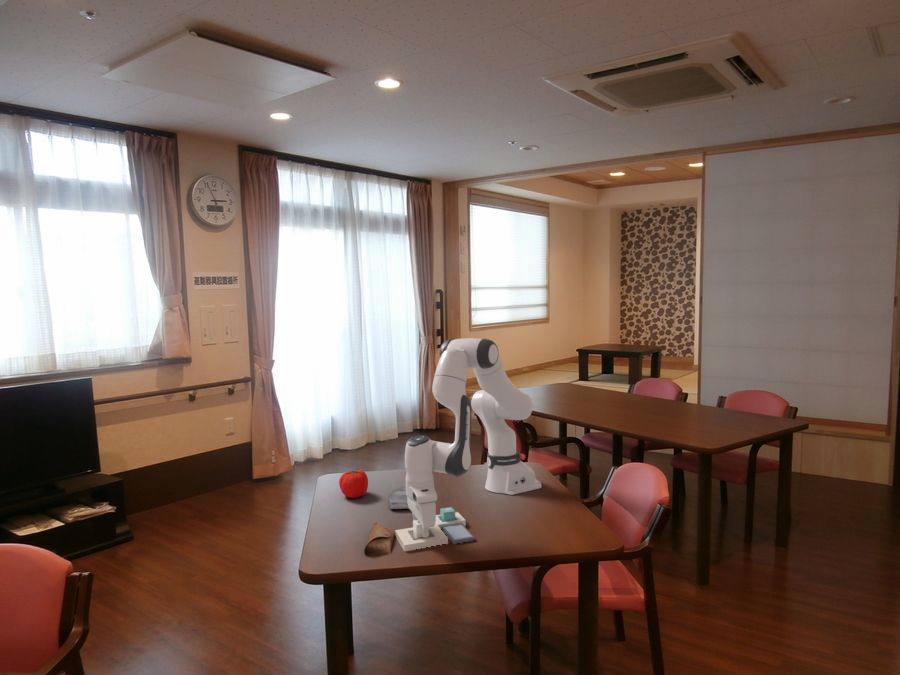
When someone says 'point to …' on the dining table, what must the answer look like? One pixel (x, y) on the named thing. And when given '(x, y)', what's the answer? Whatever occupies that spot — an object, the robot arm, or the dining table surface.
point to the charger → (417, 529)
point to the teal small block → (447, 514)
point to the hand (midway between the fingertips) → (421, 530)
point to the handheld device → (398, 498)
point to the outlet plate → (420, 538)
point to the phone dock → (455, 529)
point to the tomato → (354, 483)
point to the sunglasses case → (379, 540)
